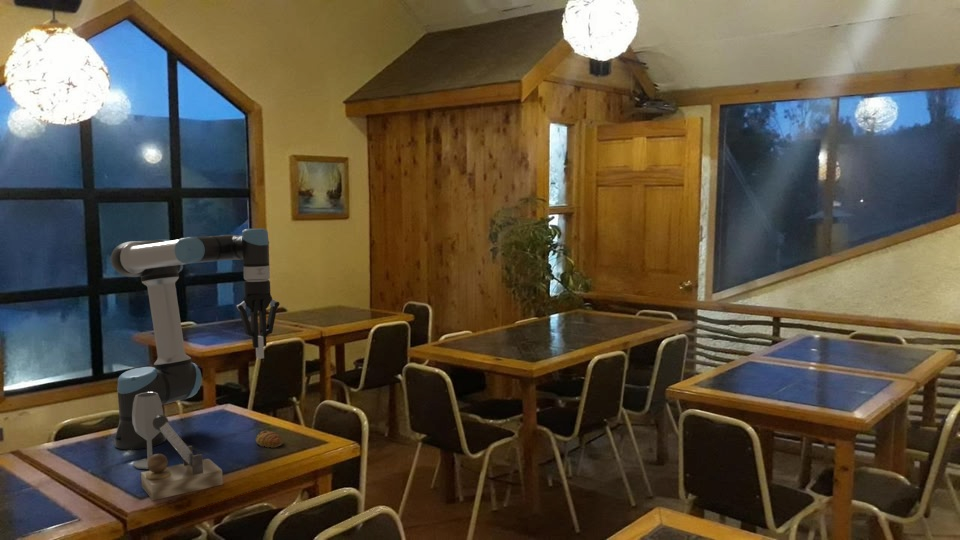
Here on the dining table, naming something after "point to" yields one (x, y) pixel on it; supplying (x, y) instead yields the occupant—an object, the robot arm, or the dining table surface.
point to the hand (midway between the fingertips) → (260, 357)
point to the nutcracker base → (179, 476)
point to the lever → (172, 437)
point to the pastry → (269, 439)
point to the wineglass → (146, 420)
